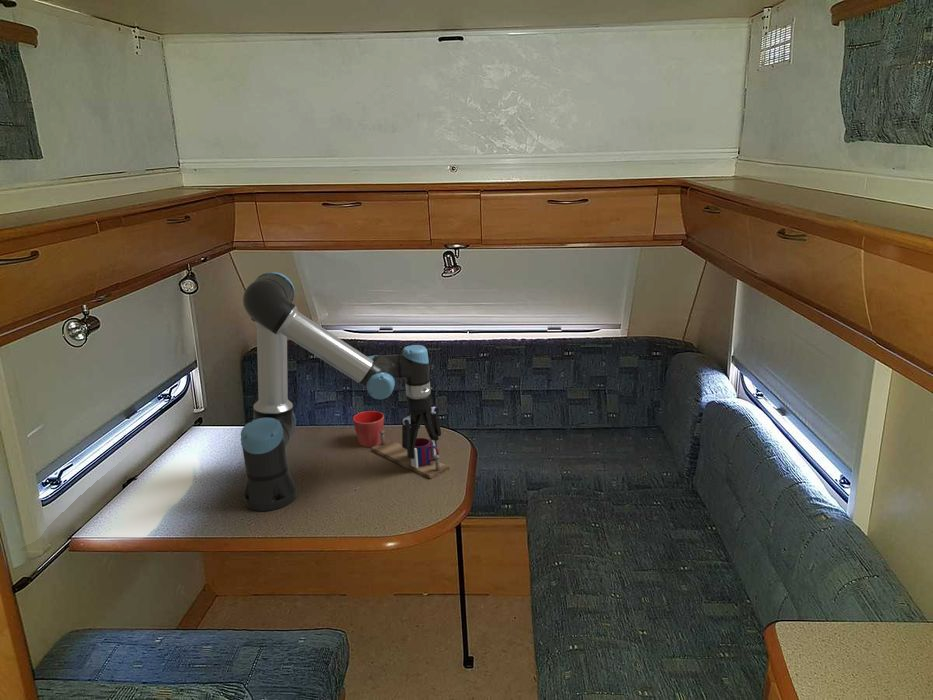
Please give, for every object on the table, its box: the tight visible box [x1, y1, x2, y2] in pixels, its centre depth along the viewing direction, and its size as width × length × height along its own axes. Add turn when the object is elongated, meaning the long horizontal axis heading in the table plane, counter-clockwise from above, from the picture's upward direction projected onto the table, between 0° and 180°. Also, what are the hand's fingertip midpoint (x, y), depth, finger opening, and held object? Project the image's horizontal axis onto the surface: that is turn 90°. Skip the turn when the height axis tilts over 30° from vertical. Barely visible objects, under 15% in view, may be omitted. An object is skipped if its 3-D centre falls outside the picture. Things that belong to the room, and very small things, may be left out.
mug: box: [410, 437, 440, 467], centre depth 215 cm, size 7×10×7 cm
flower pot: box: [352, 410, 385, 448], centre depth 234 cm, size 11×11×10 cm
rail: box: [371, 429, 450, 480], centre depth 220 cm, size 30×8×6 cm, turn 44°
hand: (423, 462), depth 216 cm, fingers closed on mug, 7 cm apart
